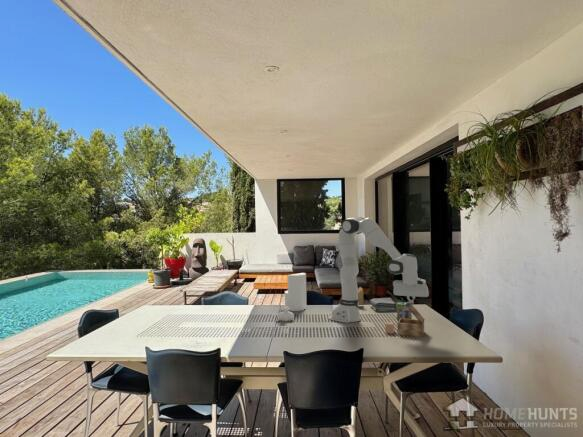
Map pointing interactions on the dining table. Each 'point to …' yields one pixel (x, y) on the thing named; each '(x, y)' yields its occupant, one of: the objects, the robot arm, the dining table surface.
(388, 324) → the cube
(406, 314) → the chalk box
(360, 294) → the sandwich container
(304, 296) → the cylinder
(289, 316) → the bust
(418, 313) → the lid
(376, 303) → the towel
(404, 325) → the crate
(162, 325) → the dining table surface
